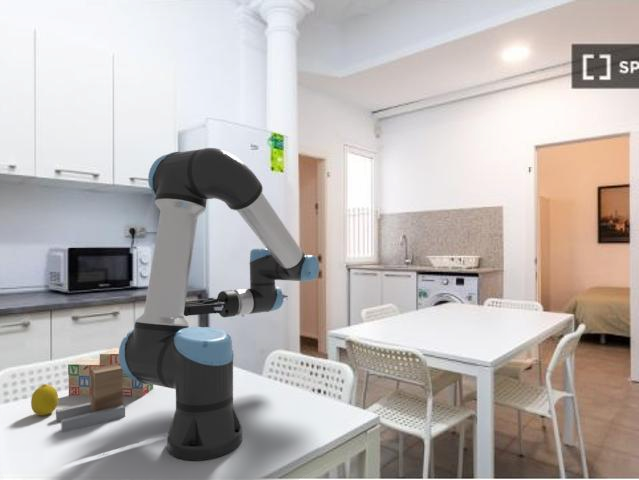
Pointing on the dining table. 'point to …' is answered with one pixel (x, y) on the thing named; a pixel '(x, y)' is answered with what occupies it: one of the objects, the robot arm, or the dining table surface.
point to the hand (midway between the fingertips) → (151, 312)
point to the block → (106, 387)
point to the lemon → (44, 400)
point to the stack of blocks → (81, 367)
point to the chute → (86, 416)
